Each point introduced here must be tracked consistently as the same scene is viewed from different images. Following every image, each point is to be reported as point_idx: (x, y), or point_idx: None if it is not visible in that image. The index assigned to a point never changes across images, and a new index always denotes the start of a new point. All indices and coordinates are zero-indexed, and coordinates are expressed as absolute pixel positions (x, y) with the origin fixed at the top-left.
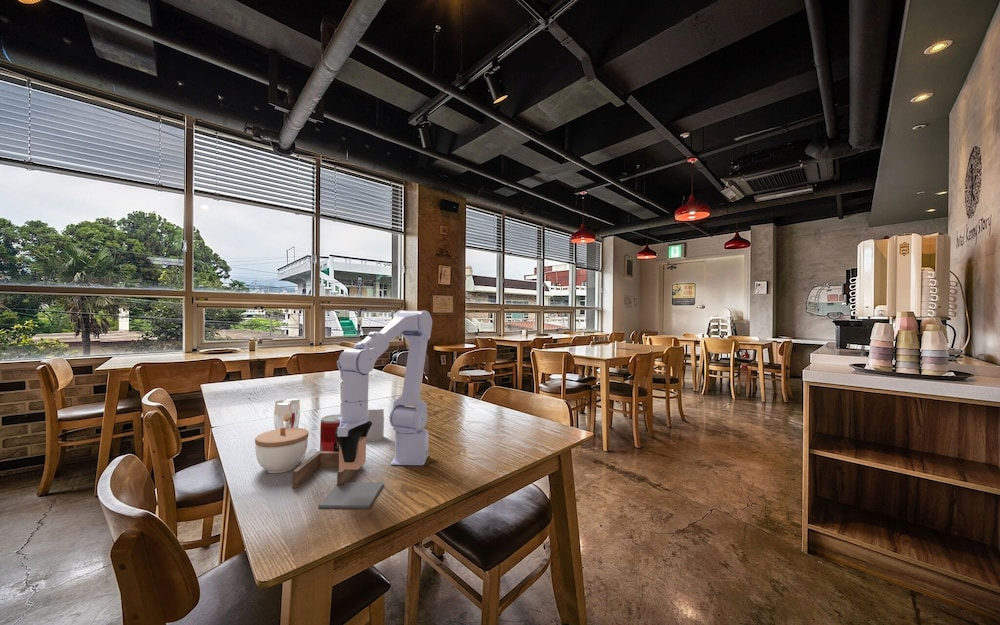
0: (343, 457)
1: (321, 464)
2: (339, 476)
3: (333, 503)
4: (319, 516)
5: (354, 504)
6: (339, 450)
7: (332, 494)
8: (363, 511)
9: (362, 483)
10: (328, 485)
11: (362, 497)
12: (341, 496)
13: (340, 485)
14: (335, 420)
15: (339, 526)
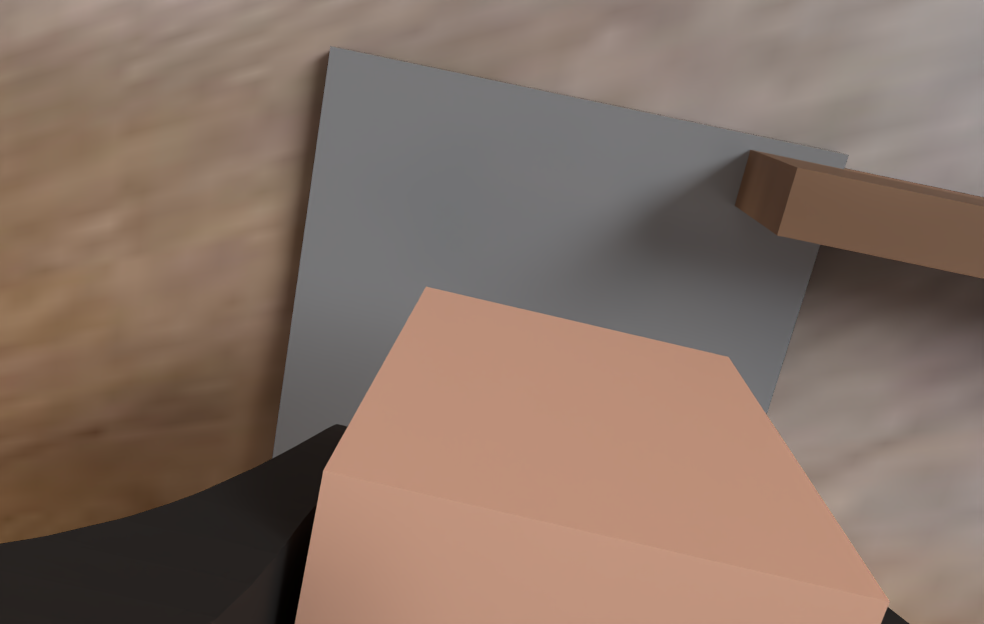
0: (298, 445)
1: None
2: (770, 189)
3: (344, 193)
4: (178, 100)
5: (295, 391)
6: (363, 400)
7: (541, 143)
8: (226, 461)
9: None
10: (849, 32)
11: None
12: (479, 245)
13: (740, 189)
14: None
15: (10, 307)
